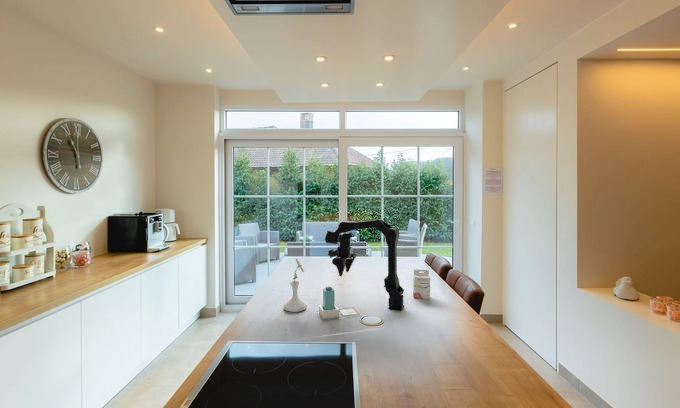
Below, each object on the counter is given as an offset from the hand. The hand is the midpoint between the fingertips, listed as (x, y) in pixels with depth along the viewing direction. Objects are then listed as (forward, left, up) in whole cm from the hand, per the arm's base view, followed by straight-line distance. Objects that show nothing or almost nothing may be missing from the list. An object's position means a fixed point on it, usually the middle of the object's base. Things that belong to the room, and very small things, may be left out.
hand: (344, 274), depth 180 cm
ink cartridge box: (-36, -22, -15) cm, 45 cm away
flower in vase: (+17, +21, -15) cm, 31 cm away
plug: (-2, +22, -14) cm, 26 cm away
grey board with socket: (-6, +19, -14) cm, 24 cm away
